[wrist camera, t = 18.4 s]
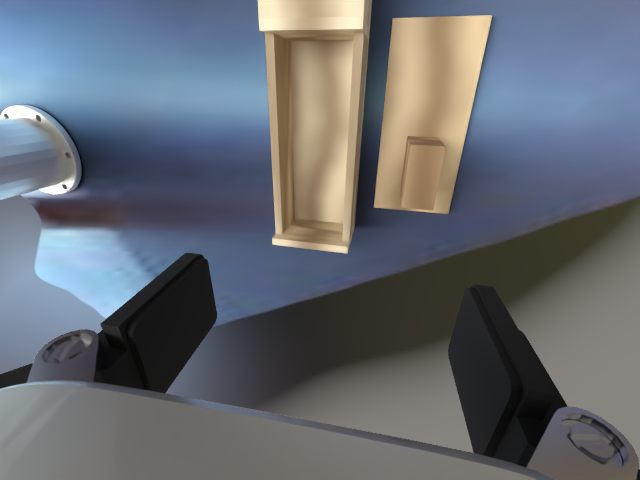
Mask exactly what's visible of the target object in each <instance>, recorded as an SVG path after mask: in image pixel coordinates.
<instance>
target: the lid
mask: <svg viewBox="0 0 640 480" xmlns="http://www.w3.org/2000/svg"><path fill="white" fill-rule="evenodd" d="M491 19H492V15H483V16H448V17H413V18H393V21H392V31H391V41H390V51H389V61H388V71H387V81H386V91H385V101H384V111H383V121H382V131H381V141H380V150H379V160H378V170H377V180H376V190H375V200H374V208H385V209H396V210H408V211H420V212H431V213H443V214H448V213H449V209H450V204H451V200H452V195H453V191H454V186H455V182H456V177H457V173H458V168H459V164H460V159H461V155H462V150H463V146H464V141H465V136H466V132H467V127H468V123H469V118H470V114H471V109H472V105H473V100H474V96H475V91H476V87H477V82H478V78H479V73H480V69H481V64H482V60H483V55H484V51H485V46H486V42H487V37H488V33H489V28H490V24H491Z"/></svg>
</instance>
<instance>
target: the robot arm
mask: <svg viewBox="0 0 640 480" xmlns="http://www.w3.org/2000/svg"><path fill="white" fill-rule="evenodd" d="M81 171H82V167H81V160H80V157H79V154H78V151H77V149H76V147H75V144H74V143H73V141H72V139H71V138H70V136H69V134H68V133H67V132H66V131H65V129H64V128H63V127H62V126H61V125H60V124H59V123H58V122H57V121H56V120H55V119H54V118H53V117H51V116H50V115H49V114H48V113H46V112H44V111H42V110H41V109H39V108H36V107H33V106H29V105H14V106H10V107H8V108H6V109H5V110H4V111H3V112H2V113H1V115H0V200H2V199H6V198H9V197H13V196H17V195H20V194H24V193H28V192H31V191H35V190H40V191H43V192H45V193H48V194H53V195H61V194H65V193H68V192H70V191H73V190H74V189H75V188H76V187H77V186H78V184H79V182H80V179H81ZM216 318H217V311H216V305H215V300H214V294H213V288H212V282H211V277H210V271H209V265H208V261H207V259H204V257H203V255H201V254H193V253H185V254H184V255H183V256H181V257H180V258H179V259H178V260H177V261H175V262H174V263H173V264H172V265H171V266H169V267H168V268H167V269H166V270H165V271H163V272H162V273H161V274H160V275H159V276H157V277H156V278H155V279H154V280H153V281H151V282H150V283H149V284H148V285H147V286H145V287H144V288H143V289H142V290H141V291H139V292H138V293H137V294H136V295H135V296H133V297H132V298H131V299H130V300H129V301H127V302H126V303H125V304H124V305H123V306H121V307H120V308H119V309H118V310H117V311H115V312H114V313H113V314H112V315H111V316H109V317H108V318H107V319H106V320H105V321H104V322H102V323H101V327H102V329H103V330H102V331H101V332H100V333H98V334H97V333H96V332H95V331H93V330H89V329H80V330H75V331H71V332H68V333H65V334H63V335H60V336H58V337H56V338H54V339H53V340H51V341H50V342H48V343H47V344H45V345H44V346H43V347H42V348H41V349H40V350H39V351H38V353H37V355H36V356H35V359H34V362H33V363H32V364H29V365H26V366H23V367H20V368H18V369H15V370H12V371H9V372H6V373H3V374H0V480H640V470H639V469H638V468H639V463H638V457H637V454H636V453H635V450H634V448H633V447H632V445H631V444H630V443H629V441H628V440H627V439H626V438H625V437H624V435H623V434H621V433H620V432H619V431H618V430H617V429H616V428H615V427H614V426H612V425H611V424H610V423H608V422H607V421H605V420H604V419H602V418H601V417H599V416H597V415H595V414H593V413H591V412H589V411H586V410H583V409H580V408H576V407H568V406H567V405H566V403H565V401H564V400H563V398H562V396H561V395H560V393H559V391H558V390H557V388H556V386H555V385H554V383H553V381H552V380H551V378H550V376H549V374H548V373H547V371H546V370H545V368H544V366H543V365H542V363H541V361H540V360H539V358H538V356H537V355H536V353H535V351H534V349H533V348H532V346H531V345H530V343H529V341H528V339H527V338H526V336H525V335H524V334H523V332H521V331H520V330H518V328H517V326H516V325H515V323H514V321H513V320H512V318H511V316H510V314H509V313H508V311H507V309H506V307H505V306H504V304H503V302H502V301H501V299H500V297H499V296H498V294H497V292H496V290H495V289H494V288H493V287H491V286H482V285H473V286H472V287H471V289H470V288H467V289H466V290H465V293H464V296H463V300H462V303H461V307H460V310H459V314H458V317H457V320H456V324H455V327H454V331H453V334H452V338H451V341H450V344H449V349H448V354H449V360H450V364H451V367H452V371H453V375H454V379H455V383H456V387H457V390H458V394H459V398H460V402H461V406H462V410H463V413H464V417H465V421H466V425H467V429H468V432H469V436H470V440H471V444H472V448H473V452H474V453H471V452H466V451H461V450H457V449H452V448H447V447H442V446H438V445H432V444H428V443H423V442H419V441H414V440H409V439H404V438H398V437H393V436H388V435H382V434H378V433H373V432H367V431H362V430H357V429H352V428H347V427H342V426H336V425H332V424H326V423H321V422H316V421H311V420H305V419H300V418H294V417H290V416H284V415H279V414H274V413H268V412H263V411H258V410H252V409H246V408H242V407H236V406H231V405H225V404H220V403H214V402H209V401H204V400H198V399H193V398H187V397H182V396H176V395H171V394H165V393H166V391H167V390H168V388H169V387H170V385H171V384H172V383H173V381H174V380H175V379H176V377H177V376H178V374H179V373H180V371H181V370H182V369H183V367H184V366H185V364H186V363H187V361H188V360H189V359H190V357H191V356H192V354H193V353H194V351H195V350H196V349H197V348H198V346H199V345H200V343H201V342H202V340H203V339H204V338H205V336H206V335H207V333H208V332H209V331H210V329H211V328H212V326H213V325H214V323H215V322H216Z"/></svg>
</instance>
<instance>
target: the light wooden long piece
mask: <svg viewBox="0 0 640 480" xmlns="http://www.w3.org/2000/svg"><path fill="white" fill-rule="evenodd" d="M371 9H372V0H258V13H259V30H260V31H261V32H264V33H265V44H266V62H267V81H268V99H269V118H270V136H271V155H272V173H273V192H274V210H275V229H276V234H275V235H274V237H273V238H272V244H273V245H281V246H289V247H297V248H306V249H314V250H322V251H331V252H339V253H348V249H349V246H350V242H351V239H352V235H353V231H354V228H355V216H356V203H357V190H358V177H359V164H360V151H361V138H362V125H363V112H364V99H365V86H366V73H367V60H368V48H369V35H370V22H371Z"/></svg>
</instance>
